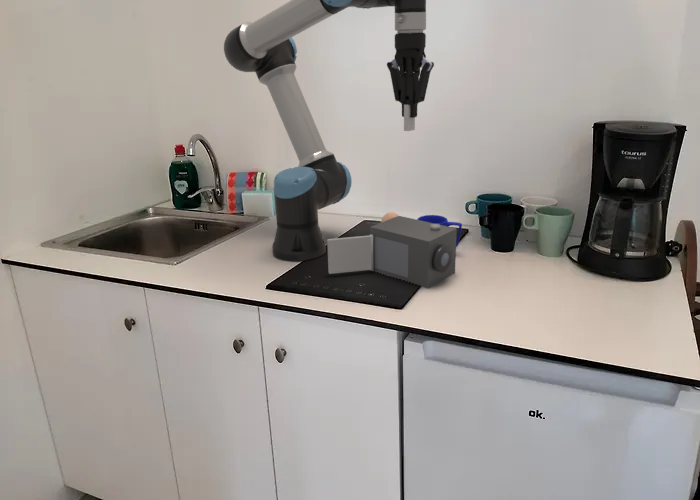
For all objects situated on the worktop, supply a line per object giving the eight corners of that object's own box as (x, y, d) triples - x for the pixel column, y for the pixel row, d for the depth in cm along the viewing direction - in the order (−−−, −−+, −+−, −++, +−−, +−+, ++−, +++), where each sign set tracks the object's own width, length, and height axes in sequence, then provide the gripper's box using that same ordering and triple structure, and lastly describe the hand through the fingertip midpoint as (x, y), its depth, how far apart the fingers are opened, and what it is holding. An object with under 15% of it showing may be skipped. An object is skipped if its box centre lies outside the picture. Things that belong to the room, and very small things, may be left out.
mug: (460, 260, 154) (461, 225, 151) (415, 258, 157) (415, 223, 153) (460, 249, 162) (462, 215, 158) (418, 247, 164) (418, 214, 161)
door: (372, 268, 149) (372, 233, 146) (374, 270, 147) (373, 235, 144) (328, 272, 147) (326, 237, 144) (329, 274, 146) (327, 239, 142)
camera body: (370, 270, 149) (369, 223, 145) (398, 257, 158) (398, 212, 153) (433, 290, 137) (435, 239, 132) (460, 274, 145) (462, 226, 141)
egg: (387, 242, 169) (387, 216, 166) (376, 236, 175) (376, 211, 172) (406, 238, 172) (406, 213, 169) (394, 232, 178) (394, 207, 175)
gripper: (379, 32, 140) (380, 130, 148) (423, 31, 132) (421, 134, 140) (398, 32, 145) (398, 126, 154) (441, 31, 137) (438, 130, 145)
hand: (409, 130), depth 147 cm, fingers closed
